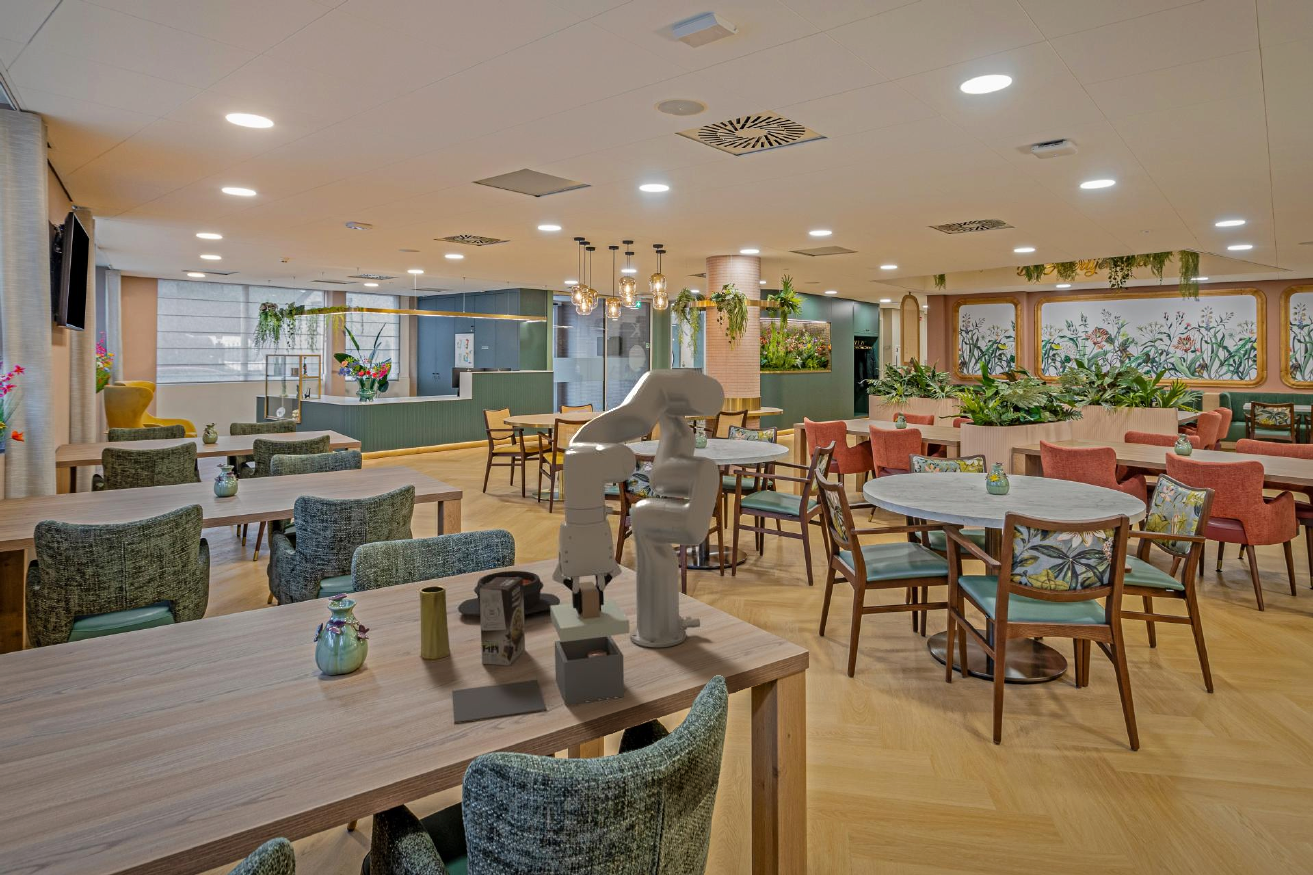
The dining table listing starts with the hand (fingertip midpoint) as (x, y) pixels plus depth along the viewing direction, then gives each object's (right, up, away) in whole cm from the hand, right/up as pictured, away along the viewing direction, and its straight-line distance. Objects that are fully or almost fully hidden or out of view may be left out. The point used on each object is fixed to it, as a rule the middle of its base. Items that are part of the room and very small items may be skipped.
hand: (588, 609), depth 143 cm
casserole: (-24, -11, +46) cm, 53 cm away
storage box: (0, -15, +1) cm, 15 cm away
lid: (0, -3, 0) cm, 3 cm away
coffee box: (-19, -14, +17) cm, 30 cm away
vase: (-34, -14, +19) cm, 42 cm away
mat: (-16, -16, -4) cm, 23 cm away
